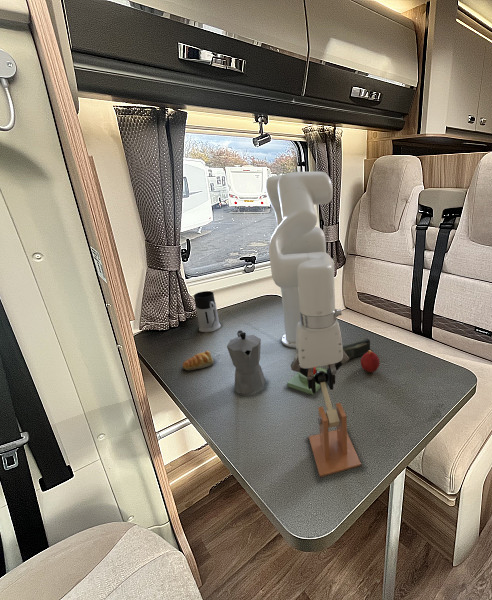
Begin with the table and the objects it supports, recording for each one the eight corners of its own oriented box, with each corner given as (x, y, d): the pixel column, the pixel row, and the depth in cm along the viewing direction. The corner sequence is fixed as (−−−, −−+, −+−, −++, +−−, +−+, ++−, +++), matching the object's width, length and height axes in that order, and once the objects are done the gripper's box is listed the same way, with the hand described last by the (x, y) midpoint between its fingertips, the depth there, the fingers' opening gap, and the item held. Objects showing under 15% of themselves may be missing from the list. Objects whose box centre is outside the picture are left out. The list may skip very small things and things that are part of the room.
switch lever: (312, 376, 76) (313, 369, 73) (325, 374, 76) (326, 367, 74) (326, 429, 67) (327, 423, 65) (340, 426, 68) (342, 419, 66)
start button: (308, 368, 97) (307, 363, 96) (318, 371, 95) (317, 366, 94) (301, 374, 94) (301, 369, 93) (311, 377, 92) (311, 372, 92)
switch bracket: (308, 440, 75) (305, 399, 70) (345, 431, 77) (344, 391, 73) (320, 480, 65) (317, 435, 60) (361, 468, 67) (361, 424, 63)
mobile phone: (366, 336, 112) (331, 348, 104) (372, 339, 110) (337, 352, 102) (366, 348, 114) (332, 361, 106) (371, 352, 112) (337, 365, 104)
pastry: (186, 374, 101) (184, 364, 100) (180, 366, 106) (178, 356, 105) (215, 364, 107) (213, 354, 105) (209, 356, 112) (207, 346, 110)
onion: (368, 365, 104) (369, 343, 101) (382, 372, 100) (383, 349, 97) (357, 372, 100) (356, 350, 97) (371, 380, 96) (371, 357, 93)
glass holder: (215, 321, 140) (209, 289, 134) (230, 331, 130) (224, 297, 125) (195, 327, 134) (188, 294, 129) (209, 338, 124) (202, 303, 119)
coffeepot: (271, 394, 91) (264, 339, 84) (237, 404, 87) (228, 347, 81) (260, 367, 104) (253, 318, 98) (230, 375, 100) (221, 324, 94)
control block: (308, 369, 102) (307, 359, 101) (332, 377, 98) (331, 366, 97) (287, 388, 93) (286, 377, 92) (313, 397, 89) (312, 385, 88)
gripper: (348, 306, 74) (349, 373, 80) (277, 316, 70) (284, 385, 76) (360, 319, 67) (360, 390, 74) (281, 330, 63) (289, 405, 69)
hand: (321, 387), depth 75 cm, fingers open, 3 cm apart
